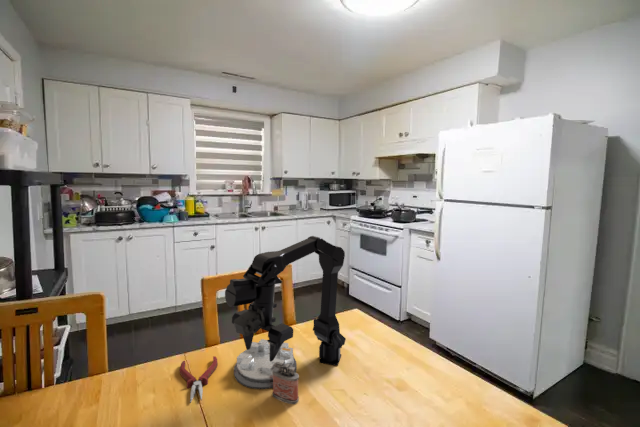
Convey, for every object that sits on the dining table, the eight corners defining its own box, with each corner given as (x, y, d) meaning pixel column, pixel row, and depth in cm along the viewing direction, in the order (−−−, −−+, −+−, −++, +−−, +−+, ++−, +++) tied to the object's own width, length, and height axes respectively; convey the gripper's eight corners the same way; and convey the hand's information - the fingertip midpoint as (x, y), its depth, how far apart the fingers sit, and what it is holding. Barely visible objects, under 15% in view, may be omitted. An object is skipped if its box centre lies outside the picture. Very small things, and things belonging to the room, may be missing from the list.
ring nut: (300, 353, 109) (301, 342, 109) (281, 386, 92) (281, 373, 91) (253, 346, 114) (252, 335, 113) (225, 376, 96) (225, 363, 96)
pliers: (173, 409, 85) (172, 400, 85) (180, 367, 104) (180, 359, 104) (218, 401, 89) (217, 392, 88) (217, 361, 108) (217, 354, 107)
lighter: (300, 398, 89) (301, 365, 88) (295, 406, 86) (295, 371, 85) (276, 390, 93) (276, 357, 92) (270, 397, 90) (269, 363, 89)
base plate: (304, 356, 110) (304, 353, 110) (283, 394, 91) (283, 390, 91) (251, 348, 115) (251, 345, 115) (221, 382, 96) (221, 378, 96)
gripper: (217, 298, 87) (214, 353, 87) (266, 317, 76) (262, 380, 77) (248, 290, 96) (245, 340, 96) (296, 306, 85) (292, 363, 86)
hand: (259, 354), depth 89 cm, fingers open, 9 cm apart
